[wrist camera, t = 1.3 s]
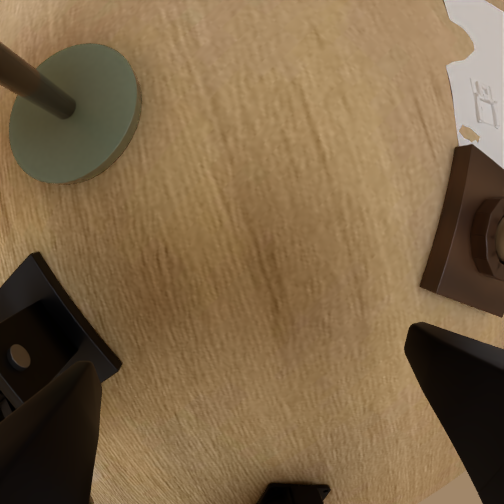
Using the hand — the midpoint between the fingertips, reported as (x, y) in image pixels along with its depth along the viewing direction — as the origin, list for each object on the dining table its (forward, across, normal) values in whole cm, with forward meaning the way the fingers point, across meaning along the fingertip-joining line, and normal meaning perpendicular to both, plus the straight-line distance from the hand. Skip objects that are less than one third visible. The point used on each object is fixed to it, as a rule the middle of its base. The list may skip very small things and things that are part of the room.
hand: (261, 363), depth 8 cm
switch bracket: (+12, +14, +7) cm, 20 cm away
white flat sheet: (+16, -28, -14) cm, 35 cm away
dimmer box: (+12, -21, +1) cm, 25 cm away
